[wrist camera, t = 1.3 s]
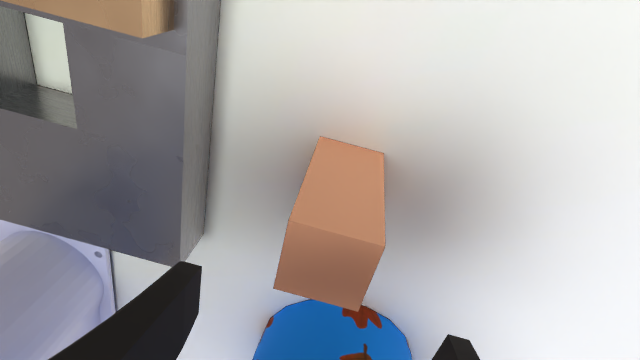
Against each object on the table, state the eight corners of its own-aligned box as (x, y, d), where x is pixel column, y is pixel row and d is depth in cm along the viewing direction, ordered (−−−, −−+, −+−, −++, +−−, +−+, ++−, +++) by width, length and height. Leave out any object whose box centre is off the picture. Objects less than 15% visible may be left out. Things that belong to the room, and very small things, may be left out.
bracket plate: (203, 234, 22) (159, 297, 18) (-20, 173, 22) (-117, 221, 18) (231, -158, 13) (155, -226, 8) (-150, -257, 13) (-417, -373, 9)
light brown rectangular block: (365, 206, 19) (357, 311, 13) (306, 190, 19) (273, 288, 13) (383, 153, 18) (385, 246, 12) (320, 136, 18) (288, 220, 12)
